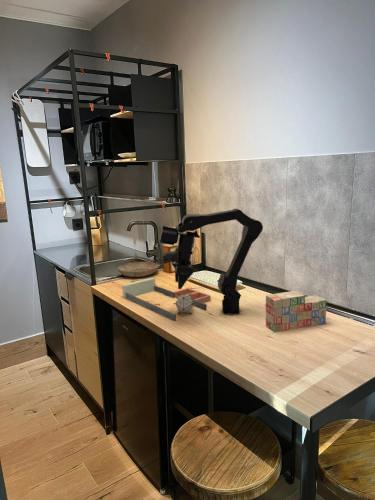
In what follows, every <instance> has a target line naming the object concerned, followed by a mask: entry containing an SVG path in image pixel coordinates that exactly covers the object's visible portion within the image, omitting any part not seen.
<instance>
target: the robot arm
mask: <svg viewBox="0 0 375 500" xmlns="http://www.w3.org/2000/svg"><path fill="white" fill-rule="evenodd" d="M228 221H229V222H230V221H236V222H238V223H239V224H241V225H242V226H243V227H242V231H241V238H240V241H239V244H238V246H237V248H236V250H235V252H234V256H233V258H232V259H231V262H230V264H229V265H228V266H229V267H228V269H227V270H226V272H224V273H223V272H221V273H220V275H219V278H218V280H217V288H218V290H219V292H221V294H222V295H223V299H222V300H221V306H222V307H221V310H222V312H223V315H240V313H241V311H240V299H241V297H242V294H240V292H239V291H238V290H237V285H238V275H239V274H240V272H241V269H242V267H243V265H244V262H245V260H246V258H247V255H248V253H249V251H250V249H251V247H252V245H253V243H254V242H255V241H256V240H257V239H258V238H259V236H260V235H261V233H262V232H263V229H264V226H263V223H262V222H261V221H259V220H258V219H255V218H252V217H250V216H248V215H247V214H246V213H244V212H243V211H242V210H240V209H238V208H233V209H229V210H224V211H223V210H222V211H217V212H213V213H206V214H199V213H196V214H195V213H194V214H193V213H189V214H184V216H183V217H182V219H181V221H180V223H178V224H177V225H176V226H175V227H172V226H167V225H164V224H163V225H162V226H161V227H162V228H161V231H160V233H159V239H158V240H159V241H158V243H159V244H162V245H166V244H169V245H174V244H176V243H177V244H178V247H177V248H176V250H175V251H172V252H166V253H161V254H160V255H161V259H162V264H163V263H164V264H166V263H168V262H172V265H173V266H174V268H175V273H174V278H175V279H174V281H175V283H177V290H182V288H183V287H184V286H185V284H186V283H187V282H188V280H189V279H190V277H191V276H192V275H193V274H194V268H193V266H192V262H191V257H192V255H193V254H194V252H193V247H194V241H195V238H198V239H200V238H201V236H200V235H199V233H198V230H199V229H201V228H203V227H205V226H208V225H209V226H210V225H213V224H214V225H215V224H218V223H224V222H228Z"/></svg>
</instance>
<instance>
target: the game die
mask: <svg viewBox="0 0 375 500" xmlns="http://www.w3.org/2000/svg"><path fill="white" fill-rule="evenodd" d="M178 295H179V297H178V299H177V298H176V301H175V302H174V303H173V305H175V306H176V308H177V311H178V313H177V314H178V315H180V314H181V313H182V314H183V313H188V314H190V315H192V313H191V311H192V310H193V307H194V306H193V305H194V304H195V303H193V300H192V298H191V296H190V295H191V294H190V295H180V294H179V293H178Z"/></svg>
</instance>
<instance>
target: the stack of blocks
mask: <svg viewBox="0 0 375 500" xmlns="http://www.w3.org/2000/svg"><path fill="white" fill-rule="evenodd" d="M326 317H327V300H326V299H325V298H323V297H321V296H319V295H316V294H315V295H310V296H306V295H305V294H303V293H301V292H298V291H296V290H290V291H284V292H278V293H272V294H266V295H265V327H266V328H268V329H269V330H270V331H272V332H273V333H279V332H287V331H291V330H297V329H303V328H308V327H315V326H321V325H325V324H326V321H327V320H326V319H327V318H326Z"/></svg>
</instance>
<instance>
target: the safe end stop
mask: <svg viewBox="0 0 375 500" xmlns="http://www.w3.org/2000/svg"><path fill="white" fill-rule="evenodd" d="M155 285H156V278H154V277H149V278H145V279H141V280H137V281H132V282H129V283H128V282H127V283H125V284H124V283H123V284H122V285H121V289H122V298H124V299H126V295H125V293H128V294H130V295H133V296H135V297H137V296H140V295H143V294H147V293H151V292H155V291H154V286H155Z"/></svg>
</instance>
